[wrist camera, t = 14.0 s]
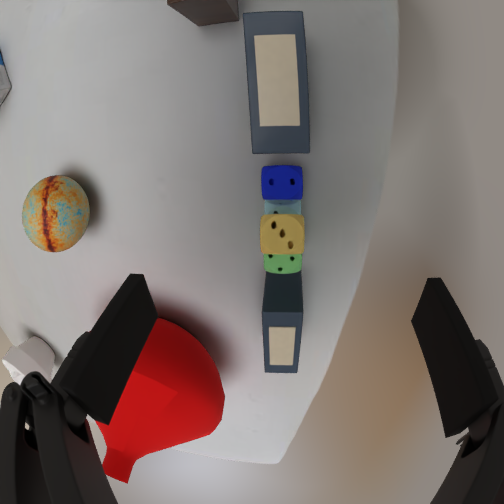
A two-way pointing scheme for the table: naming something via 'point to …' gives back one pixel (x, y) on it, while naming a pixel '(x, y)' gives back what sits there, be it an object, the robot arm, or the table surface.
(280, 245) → the dice
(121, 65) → the table surface
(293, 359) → the blue block
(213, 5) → the brown paneled block
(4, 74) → the ink box
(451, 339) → the robot arm
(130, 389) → the vase
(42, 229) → the ball
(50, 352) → the potted plant
